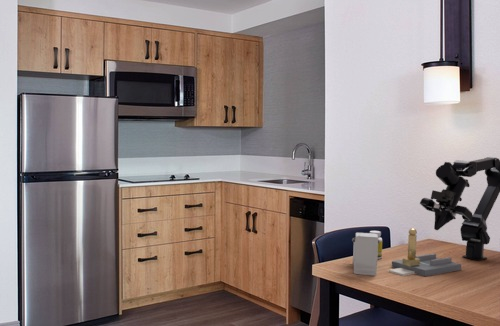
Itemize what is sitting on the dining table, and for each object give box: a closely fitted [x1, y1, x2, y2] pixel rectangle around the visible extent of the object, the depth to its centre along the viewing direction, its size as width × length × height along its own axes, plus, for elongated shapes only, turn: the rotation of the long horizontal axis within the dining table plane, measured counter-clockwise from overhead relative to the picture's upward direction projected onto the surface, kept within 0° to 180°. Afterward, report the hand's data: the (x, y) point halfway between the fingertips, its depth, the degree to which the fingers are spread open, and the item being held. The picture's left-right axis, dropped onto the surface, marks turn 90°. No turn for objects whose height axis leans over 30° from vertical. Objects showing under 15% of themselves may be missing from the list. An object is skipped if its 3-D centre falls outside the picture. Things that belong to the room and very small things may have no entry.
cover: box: [388, 268, 416, 277], centre depth 181 cm, size 6×6×1 cm
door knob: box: [402, 228, 420, 266], centre depth 183 cm, size 5×3×12 cm, turn 124°
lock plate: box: [391, 253, 462, 277], centre depth 188 cm, size 19×14×4 cm
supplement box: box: [353, 232, 378, 277], centre depth 180 cm, size 7×7×13 cm
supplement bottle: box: [369, 230, 383, 260], centre depth 202 cm, size 5×5×10 cm
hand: (435, 229), depth 194 cm, fingers closed
